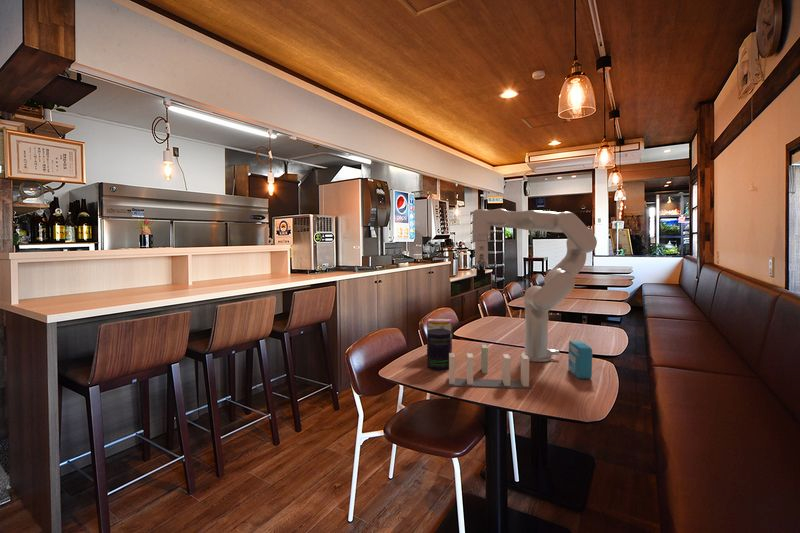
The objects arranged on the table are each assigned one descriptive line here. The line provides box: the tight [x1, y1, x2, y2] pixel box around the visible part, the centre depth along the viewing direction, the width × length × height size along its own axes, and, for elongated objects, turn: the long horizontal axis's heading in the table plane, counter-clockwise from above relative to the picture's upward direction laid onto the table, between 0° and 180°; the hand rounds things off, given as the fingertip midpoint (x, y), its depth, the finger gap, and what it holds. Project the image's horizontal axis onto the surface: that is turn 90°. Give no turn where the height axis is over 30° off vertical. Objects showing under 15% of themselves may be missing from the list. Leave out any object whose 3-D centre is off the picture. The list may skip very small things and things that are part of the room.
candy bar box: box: [426, 318, 453, 355], centre depth 181 cm, size 11×5×16 cm, turn 84°
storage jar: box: [426, 329, 451, 372], centre depth 166 cm, size 10×10×15 cm
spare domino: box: [480, 344, 489, 374], centre depth 161 cm, size 2×5×10 cm, turn 174°
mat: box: [446, 377, 533, 390], centre depth 147 cm, size 30×7×1 cm, turn 84°
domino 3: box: [501, 353, 511, 386], centre depth 146 cm, size 2×5×10 cm, turn 173°
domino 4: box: [520, 354, 530, 386], centre depth 145 cm, size 2×5×10 cm, turn 173°
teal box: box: [567, 340, 593, 380], centre depth 156 cm, size 12×4×12 cm, turn 176°
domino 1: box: [448, 352, 456, 384], centre depth 148 cm, size 2×5×10 cm, turn 174°
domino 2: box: [466, 352, 474, 385], centre depth 148 cm, size 2×5×10 cm, turn 173°
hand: (480, 278), depth 176 cm, fingers open, 9 cm apart
